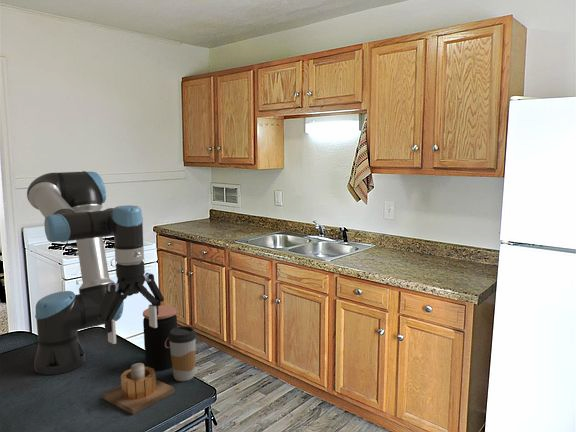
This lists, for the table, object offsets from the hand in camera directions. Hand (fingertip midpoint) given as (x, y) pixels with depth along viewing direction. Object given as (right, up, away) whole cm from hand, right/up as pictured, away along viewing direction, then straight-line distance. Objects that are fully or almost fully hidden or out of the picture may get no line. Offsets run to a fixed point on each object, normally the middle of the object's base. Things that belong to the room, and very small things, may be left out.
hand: (133, 334), depth 131 cm
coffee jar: (+2, -15, +21) cm, 26 cm away
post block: (+1, -18, +1) cm, 18 cm away
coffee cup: (+12, -16, +12) cm, 23 cm away
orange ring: (+1, -16, +1) cm, 16 cm away
